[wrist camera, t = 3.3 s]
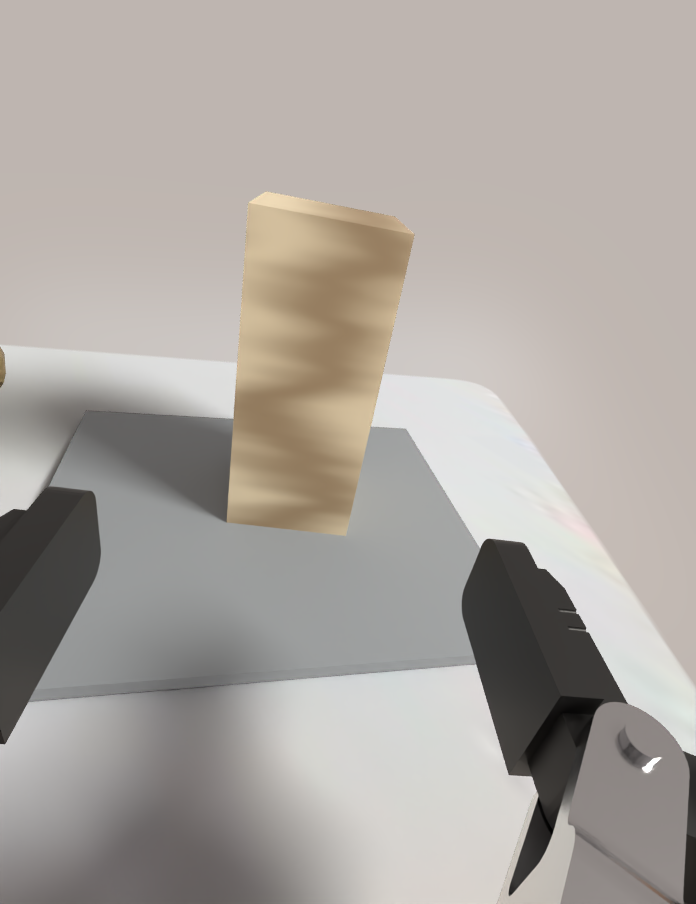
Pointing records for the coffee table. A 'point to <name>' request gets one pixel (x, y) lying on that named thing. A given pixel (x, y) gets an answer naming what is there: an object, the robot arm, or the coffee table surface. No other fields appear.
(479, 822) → the coffee table surface
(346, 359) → the birch block
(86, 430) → the slate mat
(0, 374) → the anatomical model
